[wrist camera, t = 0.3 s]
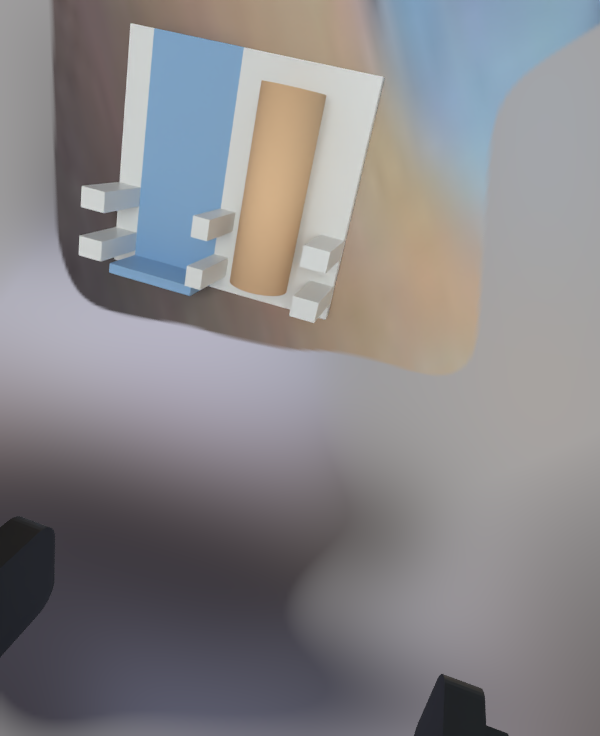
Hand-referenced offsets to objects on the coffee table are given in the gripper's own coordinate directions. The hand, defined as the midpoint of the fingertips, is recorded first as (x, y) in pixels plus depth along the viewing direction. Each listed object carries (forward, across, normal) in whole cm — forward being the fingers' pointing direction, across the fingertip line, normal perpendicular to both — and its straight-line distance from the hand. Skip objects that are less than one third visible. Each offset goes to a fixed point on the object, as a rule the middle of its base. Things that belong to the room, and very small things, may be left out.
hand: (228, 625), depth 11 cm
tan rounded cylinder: (+26, +8, -5) cm, 27 cm away
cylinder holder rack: (+26, +11, -5) cm, 29 cm away
